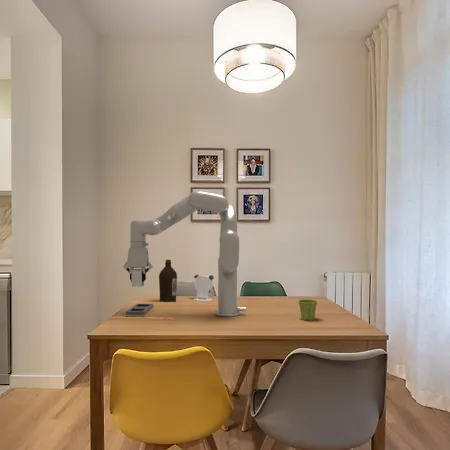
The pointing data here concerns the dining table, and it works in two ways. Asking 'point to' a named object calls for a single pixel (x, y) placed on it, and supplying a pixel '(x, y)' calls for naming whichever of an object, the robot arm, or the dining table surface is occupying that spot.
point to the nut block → (137, 278)
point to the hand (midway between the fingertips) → (137, 281)
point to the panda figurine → (203, 287)
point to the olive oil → (168, 283)
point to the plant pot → (307, 309)
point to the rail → (139, 310)
